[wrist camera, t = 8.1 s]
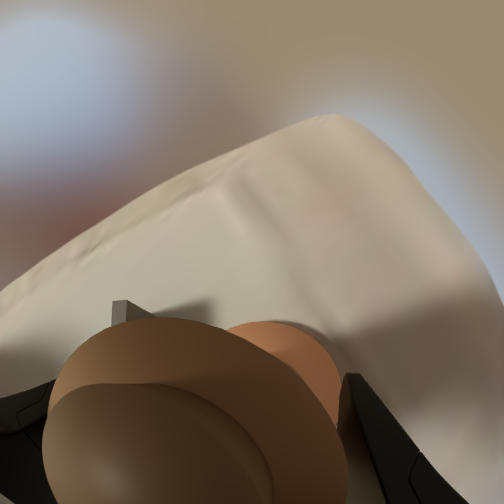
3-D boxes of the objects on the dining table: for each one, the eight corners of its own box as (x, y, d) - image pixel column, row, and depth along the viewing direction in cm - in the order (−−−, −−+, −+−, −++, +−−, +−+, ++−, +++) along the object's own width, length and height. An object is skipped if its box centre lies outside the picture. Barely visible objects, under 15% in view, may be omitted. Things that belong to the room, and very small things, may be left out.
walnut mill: (246, 458, 12) (125, 611, 1) (198, 385, 14) (-17, 382, 3) (326, 412, 13) (430, 542, 1) (274, 338, 15) (197, 218, 3)
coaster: (286, 490, 12) (285, 493, 11) (162, 412, 15) (157, 413, 14) (368, 366, 14) (370, 366, 14) (238, 297, 17) (236, 294, 17)
